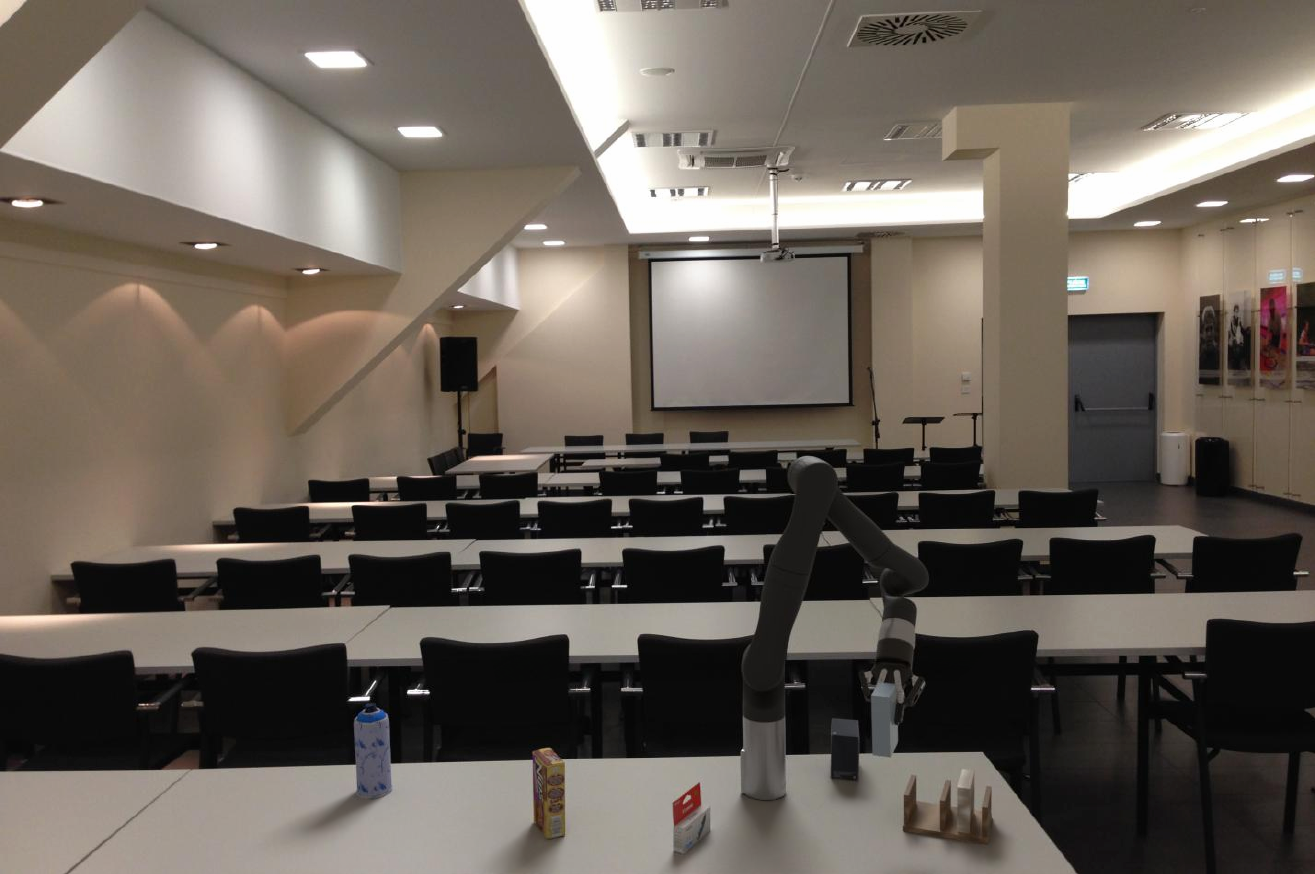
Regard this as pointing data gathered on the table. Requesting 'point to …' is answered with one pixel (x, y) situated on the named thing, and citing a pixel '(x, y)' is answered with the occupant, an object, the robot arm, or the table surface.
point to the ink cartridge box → (689, 820)
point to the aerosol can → (372, 753)
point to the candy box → (549, 792)
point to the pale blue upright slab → (884, 719)
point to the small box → (844, 749)
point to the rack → (949, 812)
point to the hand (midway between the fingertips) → (886, 722)
